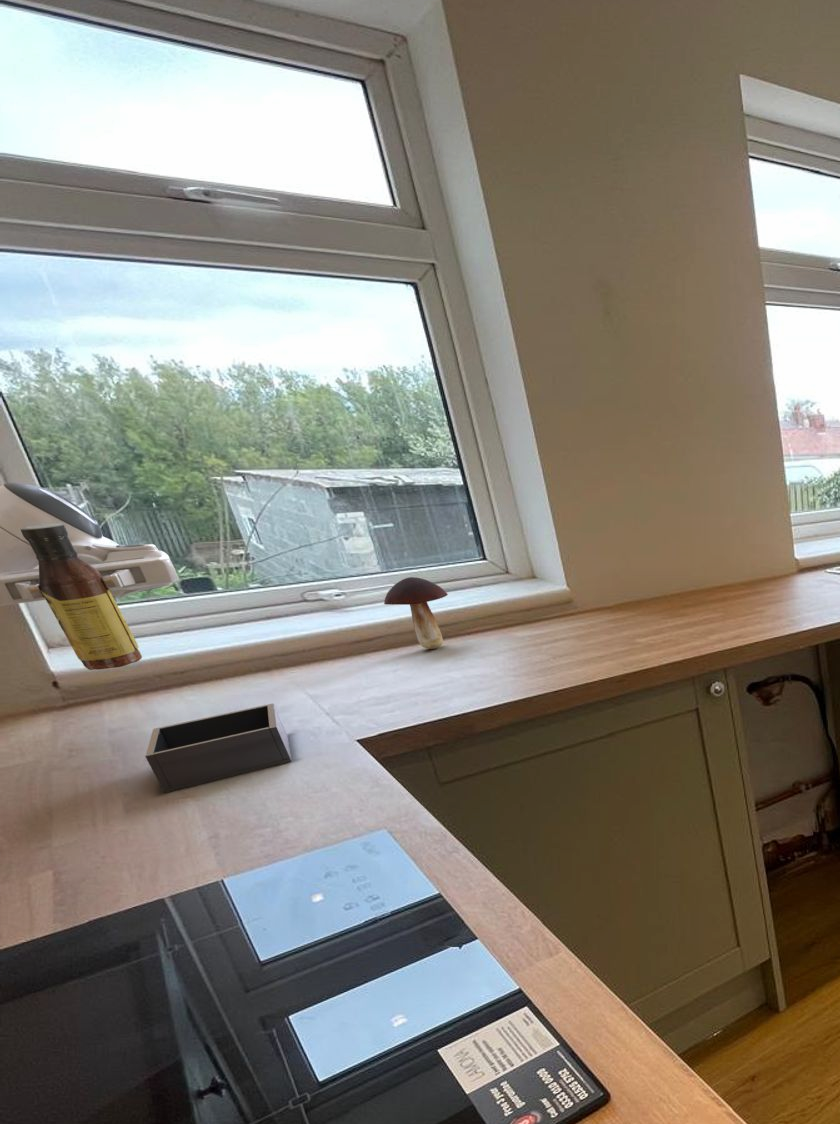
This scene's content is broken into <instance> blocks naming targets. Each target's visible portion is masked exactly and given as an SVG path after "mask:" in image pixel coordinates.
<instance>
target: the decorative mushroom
mask: <svg viewBox="0 0 840 1124" xmlns="http://www.w3.org/2000/svg"><path fill="white" fill-rule="evenodd" d="M448 595H449V594H448V593H447V591H446V590H445V589H444V588H442V587H441V586H440V585H438V584H436V583H434V582H432V581H431V580H427V579H425V578H422V577H421V578H420V577H417V576H416V577H414V576H409V577H406V578H403V579H401V580H399V581H398V582H396V583H395V584H394V585H392V587H391V588H390V589H389V590H388V592H386V595H385V598H384V602H383V604H384V605H386V606H387V605H389V606H391V605H392V606H396V605H402V606H404V605H405V606H407V605H408V606H410V614H411V619H412V625H413V628H414V632H415V635H416V638H417V641H418V643H419V644H420V646H421V647H422V648H424V649H428V650H433V649H434V650H435V649H437V648H440V647H441V646H442V645H443V643H444V642H443V641H444V640H443V639H444V638H443V636H442V632H441V629H440V627H439V623H438V622H437V620H436V618H435V616H434V614H433V612H432V609H431V607H430V606H429V603H428V602H432V601H433V602H434V601H437V600H440V599H443V598H445V597H447V596H448Z"/></svg>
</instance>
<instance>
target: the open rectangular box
mask: <svg viewBox="0 0 840 1124" xmlns="http://www.w3.org/2000/svg"><path fill="white" fill-rule="evenodd" d="M145 759H146V761H147V763H148V764H149V767H150V768H151V771H152V772H153V774H154V776H155V778H156V781H158V784H159V786H160V788H161V790H162V792H163V793H164V794H166V793H169V792H174V791H178V790H182V789H186V788H190V787H195V786H199V785H202V784H206V783H211V782H214V781H218V780H222V779H226V778H231V777H235V776H239V775H242V774H246V773H247V774H248V773H250V772H254V771H258V770H259V771H260V770H263V769H266V768H270V767H274V766H278V765H283V764H286V763H290V762H291V763H292V756H291V749H290V741H289V735H288V733H287V731H286V728H285V726H284V724H283V722H282V719H281V717H280V715H279V712H278V710H277V708H276V706H275V703H269V704H263V705H257V706H253V707H249V708H244V709H240V710H235V711H231V712H226V713H220V714H216V715H211V716H207V717H203V718H202V717H201V718H197V719H192V720H189V721H184V722H179V723H174V724H169V725H165V726H160V727H155V728H152V731H151V735H150V739H149V741H148V745H147V749H146V753H145Z"/></svg>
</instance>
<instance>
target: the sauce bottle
mask: <svg viewBox="0 0 840 1124" xmlns="http://www.w3.org/2000/svg"><path fill="white" fill-rule="evenodd" d="M21 532H22V534H23V536H24V538H25V539H26V540H27V541H28V542H29V543H30V545H31V547H32V549H33V551H34V552H35V554H36V558H37V560H38V561H39V565H38V569H39V581H40V590H41V592H42V594H43V596H44V598H45V599H46V600H45V602H46V603H47V604H48V606H49V608H50V610H51V612H52V614H53V615H54V617H55V619H56V621H57V622H58V625H59V626H60V628H61V630H62V632H63V634H64V635H65V637H66V639H67V641H68V643H69V644H70V646H71V648H72V649H73V652H74V654H75V655H76V657H77V659H78V660H79V661H80V662H81V663H82V665H83V667H84V668H86V669H87V670H89V671H93V670H95V671H96V670H107V669H108V670H109V669H115V668H122V667H126V666H128V665H130V664H135V663H137V662H139V661H141V660H142V658H143V656H142V653H141V651H140V650H139V644H138V642H137V640H136V638H135V636H134V634H133V632H132V630H131V628H130V627H129V625H128V623H127V621H126V619H125V617H124V615H123V613H122V612H121V609H120V607H119V605H118V603H117V602H116V599H115V600H114V598H113V596H112V594H111V592H110V590H109V589H107V588H106V586H105V583H104V582H103V580H102V577H101V575H100V573H99V572H98V571H97V570H96V569H95V568H94V567H92V566H90V565H89V564H88V563H86V562H84V561H83V560H82V559H80V558H79V557H78V555H77V552H76V551H75V549H74V548H73V546H72V544H71V542H70V540H69V538H68V532H67V530H66V528H65V526H64V525H63V524H44V525H35V526H29V527H24V528H21Z"/></svg>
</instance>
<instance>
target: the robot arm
mask: <svg viewBox="0 0 840 1124" xmlns="http://www.w3.org/2000/svg"><path fill="white" fill-rule="evenodd" d="M44 524H63V525H64V526H65V528H66V530H67V532H68V538H69V540H70V542H71V544H72V546H73V548H74V549H75V551H76V552H77V555H78V557H79V558H80V559H82V560H83V561H84V562H86V563H88V564H89V565H90V566H92V567H94V568H95V569H96V570H97V571H98V572H99V573H100V575H101V577H102V580H103V582H104V583H105V586H106V588H107V589H109V590H110V592H111V594H112V596H113V598H114V600H115V601H116V600H117V599H122V598H125V597H128V596H130V595H133V594H136V593H142V592H145V591H149V590H156V589H161V588H165V587H169V586H171V585H173V584H176V583H178V582H179V581H180V577H179V576H178V573H177V571H176V569H175V567H174V565H173V562H172V560H171V558H170V556H169V555H168V554H167V553H166V552H165V551H163V550H161V549H158V547H157V545H155V544H152V543H147V544H146V543H145V544H143V543H138V544H119V543H118V542H116V541H114V540H112V539H111V538H107V537H105V536H103V533H102V529H101V527H100V524H99V522H98V521H97V520H96V519H95V518H93V517H92V516H91V515H90V514H89V513H88V512H86V511H85V510H83V509H82V508H81V507H80V506H78V505H77V504H76V503H74V502H72V501H70V500H69V499H67V498H66V497H63V496H62V495H60V494H58V493H56V492H54V491H52V490H50V489H48V488H44V487H42V486H38V485H32V484H26V483H17V482H7V483H3V484H2V485H0V607H2V606H9V605H11V606H12V605H17V604H24V603H32V602H33V603H34V602H39V601H46V599H45V598H44V596H43V594H42V592H41V590H40V581H39V568H37V567H39V561H38V560H37V558H36V554H35V552H34V551H33V549H32V547H31V545H30V543H29V542H28V541H27V540H26V539H25V538H24V536H23V534H22V532H21V528H24V527H29V526H35V525H44Z"/></svg>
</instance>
